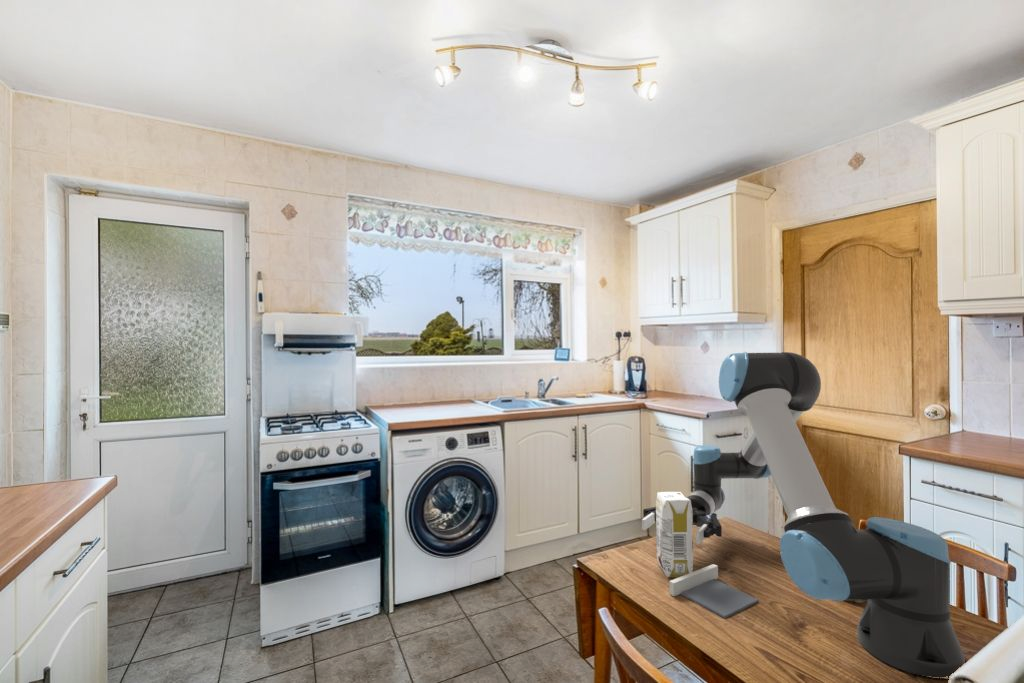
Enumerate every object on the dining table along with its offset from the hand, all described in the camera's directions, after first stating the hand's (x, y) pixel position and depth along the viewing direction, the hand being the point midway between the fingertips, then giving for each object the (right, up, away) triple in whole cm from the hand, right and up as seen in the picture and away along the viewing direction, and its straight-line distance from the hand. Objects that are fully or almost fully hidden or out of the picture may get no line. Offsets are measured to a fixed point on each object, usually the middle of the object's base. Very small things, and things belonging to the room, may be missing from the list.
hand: (669, 531), depth 117 cm
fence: (+4, -11, -5) cm, 13 cm away
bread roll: (+38, -11, -8) cm, 40 cm away
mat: (+8, -11, -11) cm, 17 cm away
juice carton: (+2, -11, +2) cm, 12 cm away
